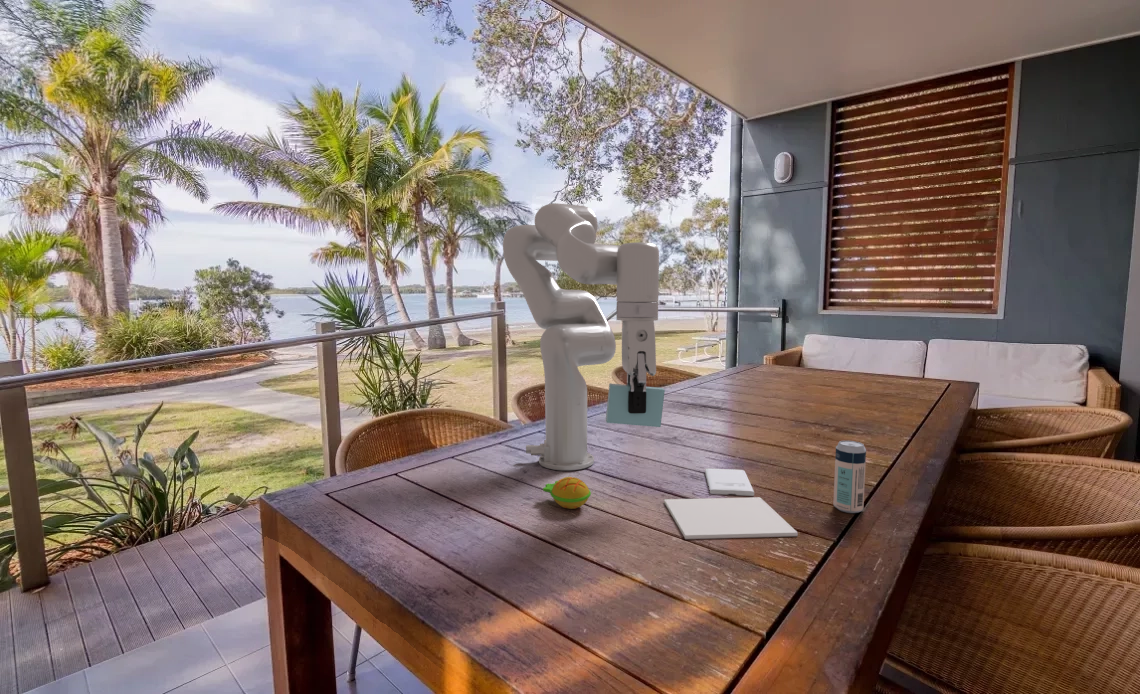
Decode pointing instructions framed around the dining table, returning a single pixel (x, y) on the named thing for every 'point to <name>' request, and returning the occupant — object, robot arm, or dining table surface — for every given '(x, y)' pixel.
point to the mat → (727, 518)
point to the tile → (620, 414)
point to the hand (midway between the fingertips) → (635, 410)
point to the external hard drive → (728, 482)
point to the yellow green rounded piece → (569, 492)
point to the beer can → (849, 476)
